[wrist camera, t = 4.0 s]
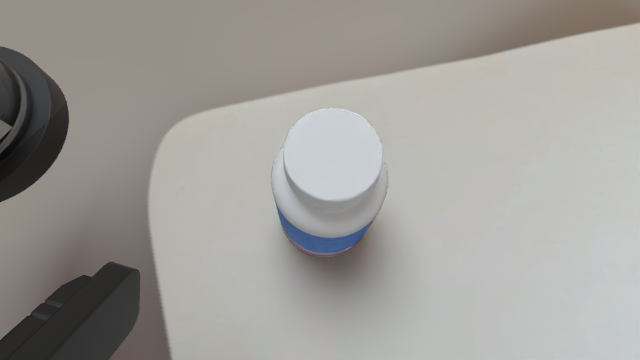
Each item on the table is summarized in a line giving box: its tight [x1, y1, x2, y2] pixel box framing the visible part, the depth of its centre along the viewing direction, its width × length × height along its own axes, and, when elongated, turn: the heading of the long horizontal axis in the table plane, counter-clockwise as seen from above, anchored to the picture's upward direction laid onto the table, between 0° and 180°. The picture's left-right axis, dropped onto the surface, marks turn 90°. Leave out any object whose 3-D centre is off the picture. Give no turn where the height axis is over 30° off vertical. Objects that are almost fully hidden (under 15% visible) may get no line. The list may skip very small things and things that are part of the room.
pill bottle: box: [271, 108, 388, 257], centre depth 21 cm, size 6×5×10 cm
